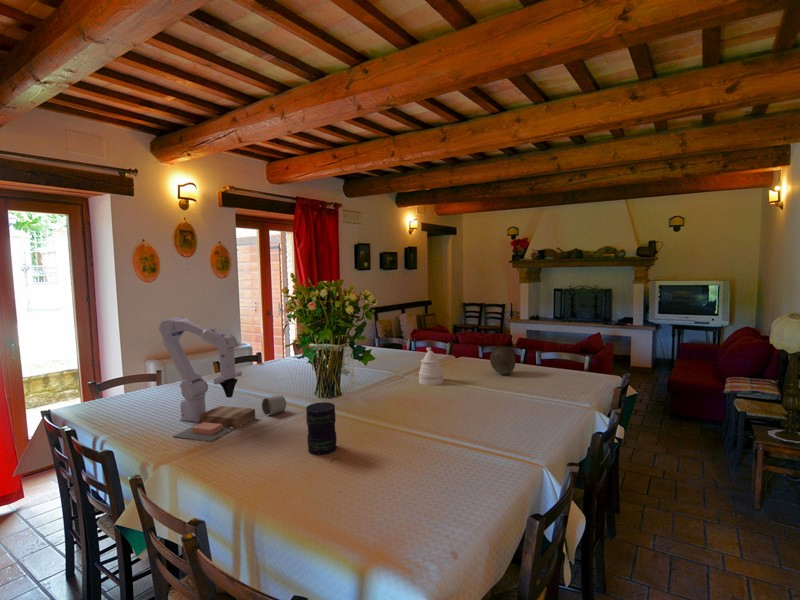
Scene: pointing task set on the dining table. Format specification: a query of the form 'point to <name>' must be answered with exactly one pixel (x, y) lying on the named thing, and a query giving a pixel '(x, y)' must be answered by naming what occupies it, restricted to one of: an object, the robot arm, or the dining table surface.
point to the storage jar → (321, 428)
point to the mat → (189, 435)
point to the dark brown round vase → (502, 360)
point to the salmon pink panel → (207, 428)
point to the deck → (227, 416)
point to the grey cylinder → (273, 405)
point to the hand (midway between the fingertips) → (229, 396)
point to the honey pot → (430, 370)
